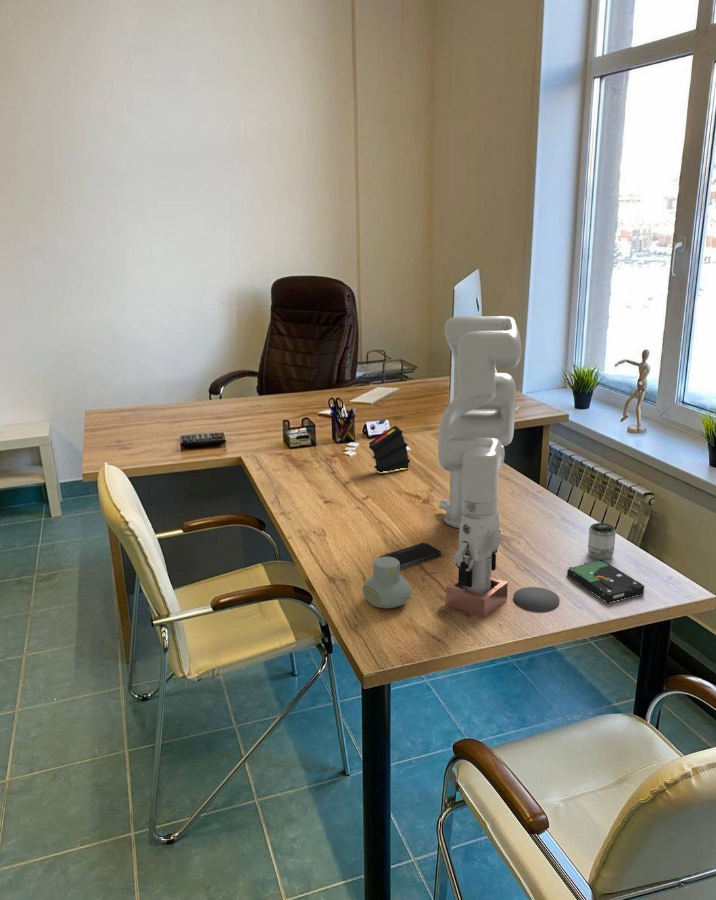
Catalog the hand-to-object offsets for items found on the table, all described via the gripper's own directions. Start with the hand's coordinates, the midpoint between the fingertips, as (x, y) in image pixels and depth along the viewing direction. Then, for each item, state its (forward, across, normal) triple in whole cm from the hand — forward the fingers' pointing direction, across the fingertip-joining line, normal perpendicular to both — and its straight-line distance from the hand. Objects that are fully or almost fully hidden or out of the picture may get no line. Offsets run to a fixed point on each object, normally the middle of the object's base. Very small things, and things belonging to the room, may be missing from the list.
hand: (477, 576), depth 169 cm
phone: (+7, +9, +25) cm, 27 cm away
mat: (+6, +9, -10) cm, 15 cm away
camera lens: (+7, +39, -12) cm, 41 cm away
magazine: (+6, +56, +68) cm, 88 cm away
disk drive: (+7, +25, -19) cm, 32 cm away
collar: (+6, 0, 0) cm, 6 cm away
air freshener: (+7, -12, +16) cm, 21 cm away
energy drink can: (+6, 0, 0) cm, 6 cm away
